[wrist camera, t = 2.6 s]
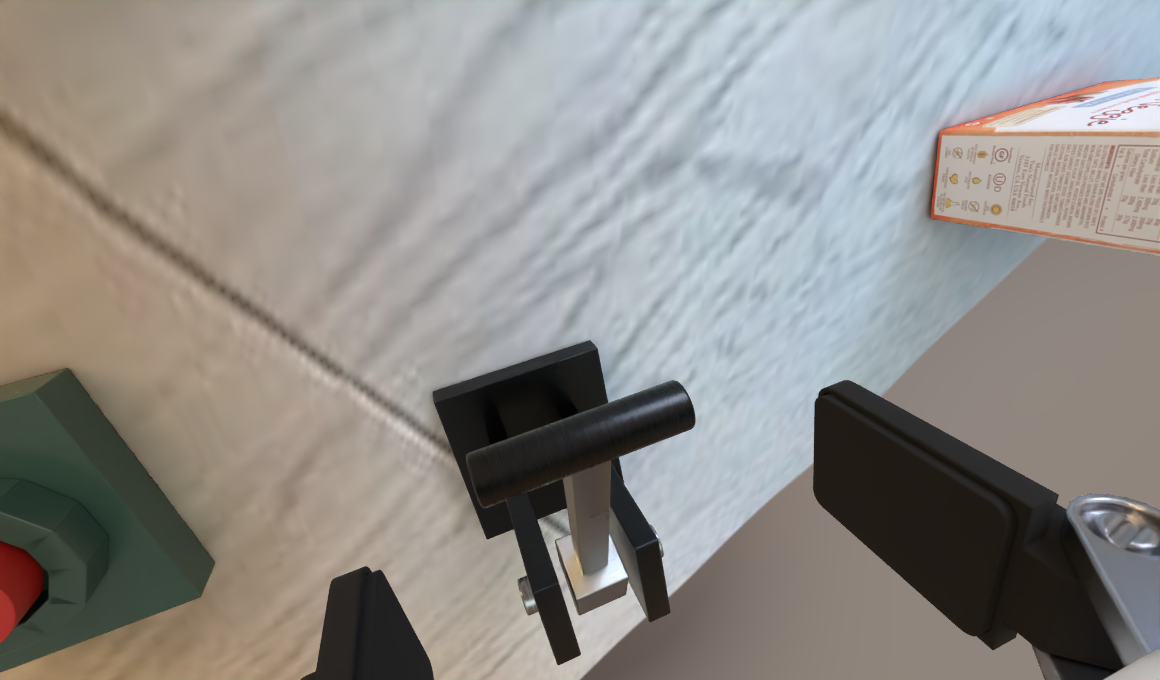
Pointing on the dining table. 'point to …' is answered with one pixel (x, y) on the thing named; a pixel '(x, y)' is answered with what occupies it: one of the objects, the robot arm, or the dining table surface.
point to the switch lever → (583, 478)
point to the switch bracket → (522, 406)
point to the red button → (17, 586)
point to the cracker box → (1060, 168)
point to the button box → (85, 521)
